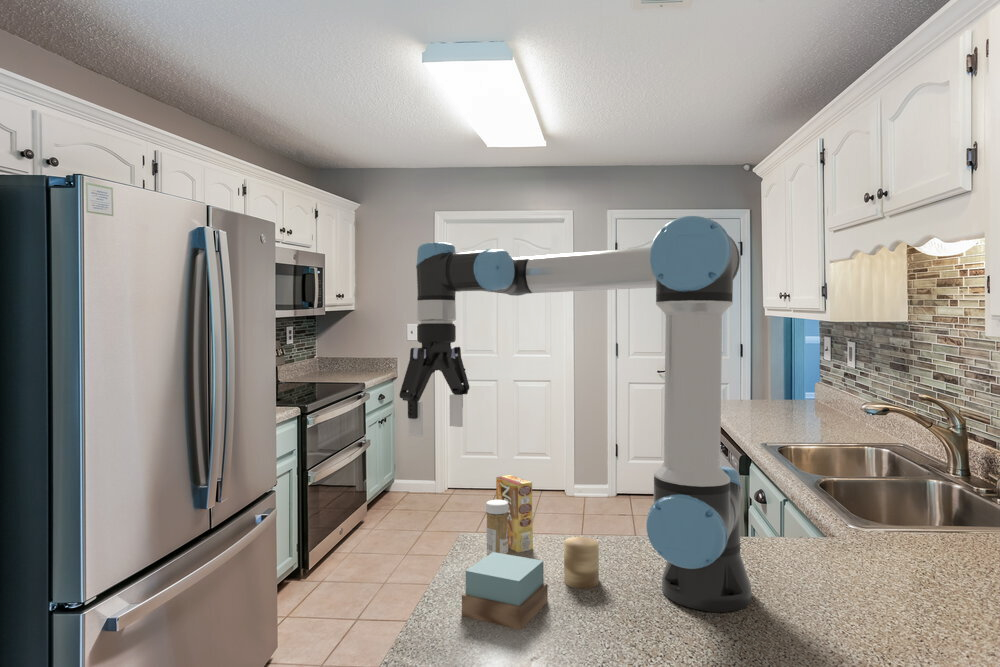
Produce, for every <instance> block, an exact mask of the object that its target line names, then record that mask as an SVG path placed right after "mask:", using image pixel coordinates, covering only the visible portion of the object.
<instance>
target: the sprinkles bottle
mask: <svg viewBox="0 0 1000 667" xmlns="http://www.w3.org/2000/svg"><path fill="white" fill-rule="evenodd" d="M485 512H486V557H487V556H488V555H489V554H491V553H492V552H496V553H502V554H507V555H509V547H508V526H507V524H508V522H507V516H508V515H507V514H508V502H507V501H505V500H497V499H491V500H490V499H489V500H488V501H486V503H485Z"/></svg>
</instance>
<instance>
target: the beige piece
mask: <svg viewBox="0 0 1000 667" xmlns="http://www.w3.org/2000/svg"><path fill="white" fill-rule="evenodd" d="M599 543H600V542H599V541H598V540H597V539H594V538H592V537H588V536H572V537H568V538H566V539H564V541H563V569H564V570H563V579H564V580H563V582H564V583H565V585H567V586H568V587H570V588H575V589H590V588H594V587H596V586H598V584H599V583H600V581H599V580H600V578H599V577H600V571H599V570H600V569H599V568H600V564H599V563H600V557H599V556H600V555H599V554H600V552H599V550H600V548H599V546H600V545H599Z"/></svg>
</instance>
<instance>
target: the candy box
mask: <svg viewBox="0 0 1000 667" xmlns="http://www.w3.org/2000/svg"><path fill="white" fill-rule="evenodd" d="M495 483H496V484H495V485H496V492H495V493H496V500H505V501H507V502H508V514H507V515H508V516H507V522H508V524H507V526H508V549H511V550H512V551H515V552H517V553H523V552H526V551H530V550H533V549H534V541H533V540H534V538H533V537H534V534H533V532H534V531H533V528H534V527H533V526H534V525H533V523H534V520H533V516H534V515H533V514H534V513H533V482H532V481H529V480H527V479H524V478H520V477H517V476H515V475H512V474H509V475H502V476H496V477H495Z"/></svg>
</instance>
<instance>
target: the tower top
mask: <svg viewBox="0 0 1000 667" xmlns="http://www.w3.org/2000/svg"><path fill="white" fill-rule="evenodd" d="M544 583H545V582H544V560H542V559H541V560H540V559H536V558H535V559H534V558H529V557H524V556H518V555H513V554H508V555H507V554H502V553H496V552H492V553H491V554H489V555H488V556H487V555H486V556H485V557H483V558H482V559H480V560H479V561H478V562H477V563H475V564H473V565H472V566H471V567H469V568H467V569H466V570H465V592H466V595H471V596H475V597H480V598H485V599H489V600H494V601H499V602H503V603H508V604H513V605H517V606H520V605H521V604H522V603H523V602H524V601H525V600H526V599H527V598H528V597H529V596H531V595H532V594H533V593H534V592H535V591H536V590H537V589H538V588H539V587H540V586H541V585H542V584H544Z"/></svg>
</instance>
